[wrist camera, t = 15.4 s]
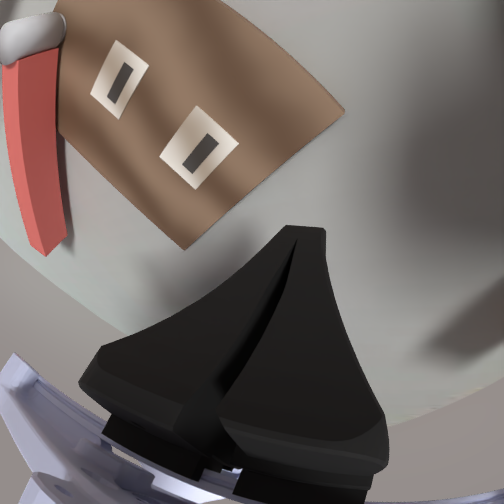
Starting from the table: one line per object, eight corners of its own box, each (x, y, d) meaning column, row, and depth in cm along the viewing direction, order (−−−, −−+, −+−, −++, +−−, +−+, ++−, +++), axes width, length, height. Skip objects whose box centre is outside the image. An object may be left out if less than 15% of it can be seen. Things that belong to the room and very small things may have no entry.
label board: (189, 243, 26) (183, 252, 25) (33, 94, 20) (24, 98, 19) (345, 110, 15) (344, 114, 14) (100, -61, 8) (89, -62, 8)
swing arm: (50, 224, 29) (26, 246, 26) (42, 12, 12) (-1, 23, 9) (69, 236, 29) (44, 261, 26) (66, 10, 12) (18, 20, 9)
